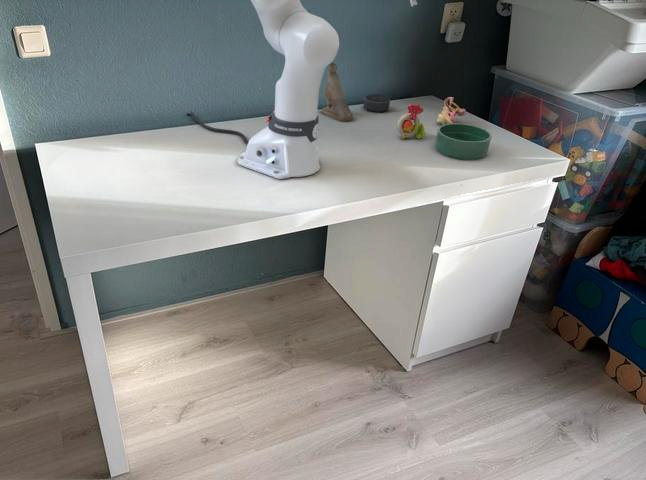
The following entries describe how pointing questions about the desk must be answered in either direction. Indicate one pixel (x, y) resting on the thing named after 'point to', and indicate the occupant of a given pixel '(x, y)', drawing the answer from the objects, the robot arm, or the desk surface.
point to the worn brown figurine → (336, 98)
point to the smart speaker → (376, 103)
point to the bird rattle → (407, 125)
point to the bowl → (463, 141)
